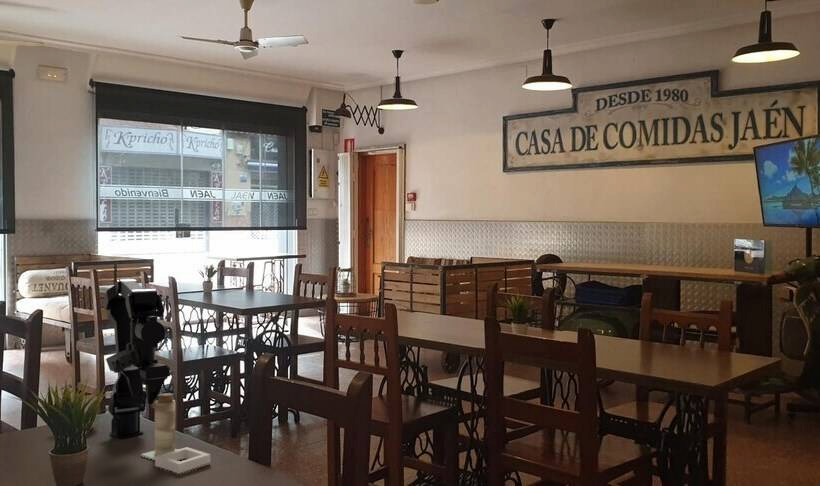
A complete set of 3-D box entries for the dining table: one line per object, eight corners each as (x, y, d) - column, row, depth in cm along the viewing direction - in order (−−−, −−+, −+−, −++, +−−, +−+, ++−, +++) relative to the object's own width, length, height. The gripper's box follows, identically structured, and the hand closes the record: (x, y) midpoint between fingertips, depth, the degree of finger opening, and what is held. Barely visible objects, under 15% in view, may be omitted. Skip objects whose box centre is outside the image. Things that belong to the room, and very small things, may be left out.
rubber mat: (168, 448, 187) (168, 446, 187) (188, 455, 182) (188, 452, 182) (141, 456, 180) (141, 454, 180) (160, 463, 176) (160, 460, 176)
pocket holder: (186, 456, 181) (186, 447, 180) (210, 464, 175) (210, 454, 175) (155, 466, 173) (155, 456, 173) (178, 474, 168) (178, 464, 168)
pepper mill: (167, 449, 185) (167, 391, 184) (178, 452, 182) (179, 394, 181) (150, 453, 181) (150, 395, 180) (162, 457, 178) (162, 398, 177)
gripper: (95, 337, 184) (95, 398, 185) (126, 347, 171) (126, 413, 171) (138, 333, 192) (138, 392, 192) (171, 342, 178) (171, 405, 179)
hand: (142, 400), depth 183 cm, fingers open, 9 cm apart
